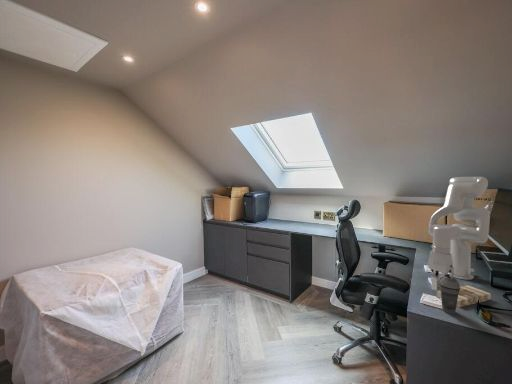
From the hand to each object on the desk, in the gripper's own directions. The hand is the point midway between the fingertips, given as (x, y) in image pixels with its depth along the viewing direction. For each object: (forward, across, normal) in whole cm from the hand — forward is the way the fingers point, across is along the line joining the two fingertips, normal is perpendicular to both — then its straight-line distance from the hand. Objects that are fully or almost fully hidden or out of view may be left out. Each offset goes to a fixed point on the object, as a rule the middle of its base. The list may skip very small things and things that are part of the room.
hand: (440, 283), depth 128 cm
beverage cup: (+3, +17, -19) cm, 26 cm away
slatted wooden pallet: (+3, +11, 0) cm, 11 cm away
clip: (+3, 0, 0) cm, 3 cm away
